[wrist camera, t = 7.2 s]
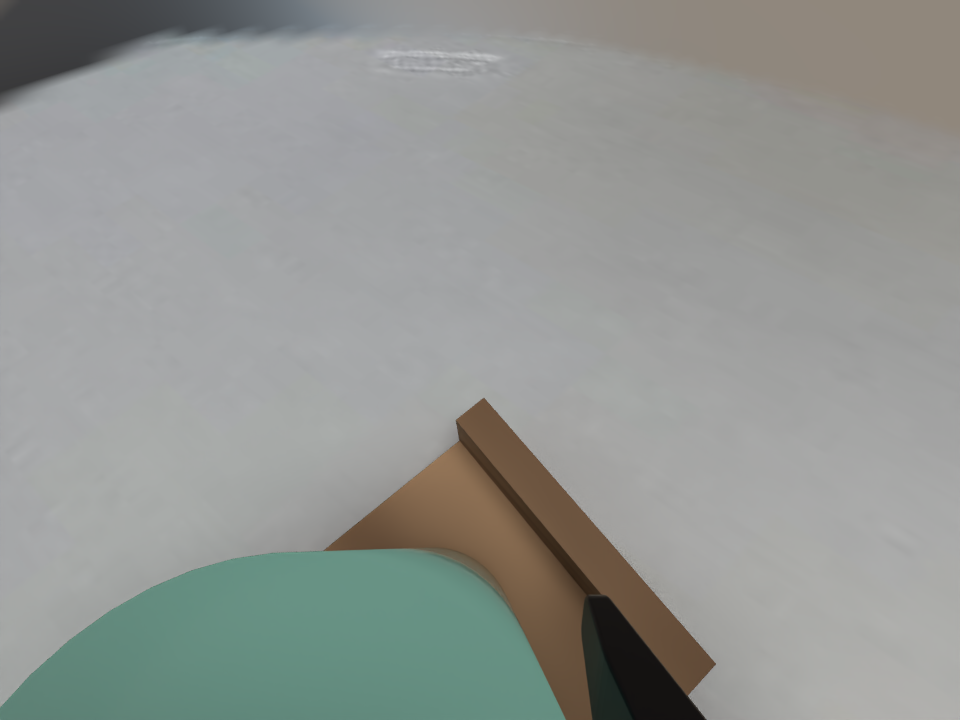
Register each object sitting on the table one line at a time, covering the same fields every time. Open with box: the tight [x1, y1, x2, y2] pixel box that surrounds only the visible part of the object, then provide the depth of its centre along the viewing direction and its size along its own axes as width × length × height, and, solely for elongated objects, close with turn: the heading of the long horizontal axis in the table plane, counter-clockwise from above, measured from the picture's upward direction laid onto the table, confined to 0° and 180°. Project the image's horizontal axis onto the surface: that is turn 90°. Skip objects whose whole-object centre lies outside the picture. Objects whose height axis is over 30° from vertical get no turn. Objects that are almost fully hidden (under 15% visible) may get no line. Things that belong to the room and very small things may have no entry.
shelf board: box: [324, 398, 716, 720], centre depth 16 cm, size 14×10×4 cm
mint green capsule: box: [0, 547, 566, 720], centre depth 10 cm, size 6×6×14 cm
